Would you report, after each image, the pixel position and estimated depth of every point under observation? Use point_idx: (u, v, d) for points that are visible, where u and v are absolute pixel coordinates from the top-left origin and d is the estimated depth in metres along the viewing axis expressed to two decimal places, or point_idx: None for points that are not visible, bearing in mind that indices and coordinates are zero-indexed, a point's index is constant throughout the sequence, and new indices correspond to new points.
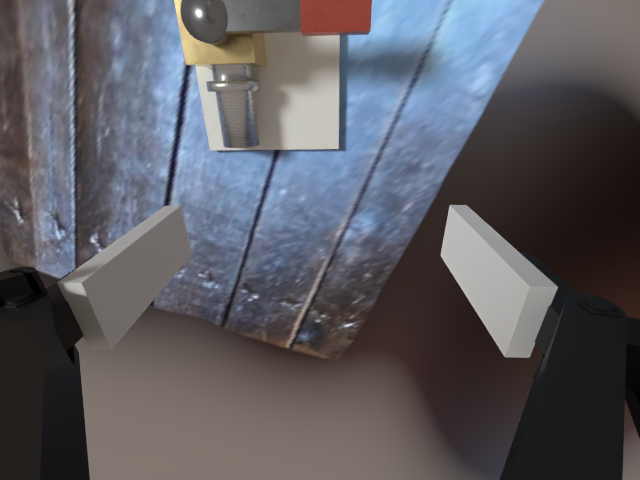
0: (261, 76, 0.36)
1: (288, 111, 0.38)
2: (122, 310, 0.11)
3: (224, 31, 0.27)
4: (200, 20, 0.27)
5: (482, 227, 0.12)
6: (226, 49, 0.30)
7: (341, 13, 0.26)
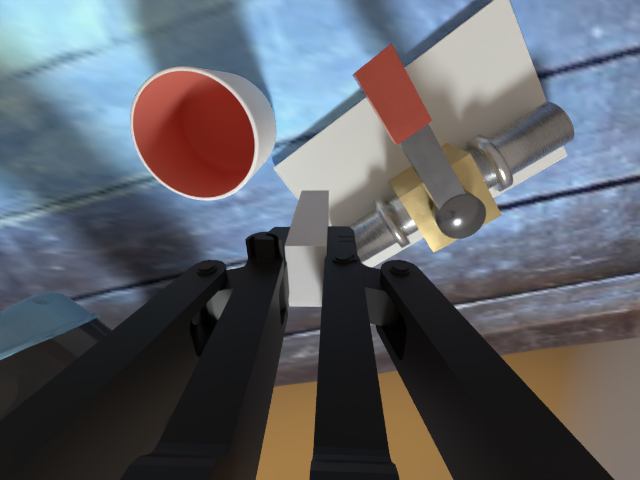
0: (459, 142, 0.32)
1: (483, 92, 0.29)
2: None
3: (466, 194, 0.25)
4: (467, 218, 0.26)
5: (320, 206, 0.14)
6: (470, 186, 0.28)
7: (393, 89, 0.22)
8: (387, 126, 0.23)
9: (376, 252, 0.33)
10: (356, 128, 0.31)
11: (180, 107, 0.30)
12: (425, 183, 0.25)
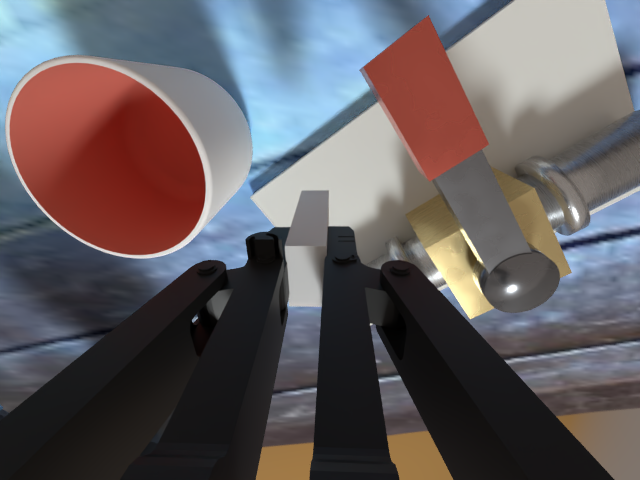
0: (504, 164, 0.23)
1: (544, 96, 0.21)
2: None
3: (531, 253, 0.17)
4: (530, 286, 0.17)
5: (320, 206, 0.14)
6: (530, 233, 0.19)
7: (427, 93, 0.13)
8: (415, 153, 0.14)
9: None
10: (363, 146, 0.23)
11: (116, 116, 0.21)
12: (470, 237, 0.16)
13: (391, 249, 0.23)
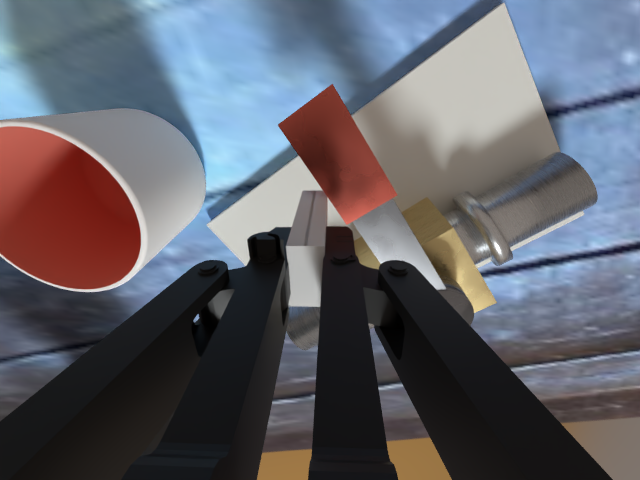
0: (443, 197, 0.24)
1: (474, 136, 0.22)
2: None
3: (447, 289, 0.18)
4: None
5: (319, 206, 0.14)
6: (454, 267, 0.20)
7: (338, 150, 0.14)
8: (331, 199, 0.16)
9: None
10: (309, 179, 0.24)
11: (75, 153, 0.23)
12: None
13: None
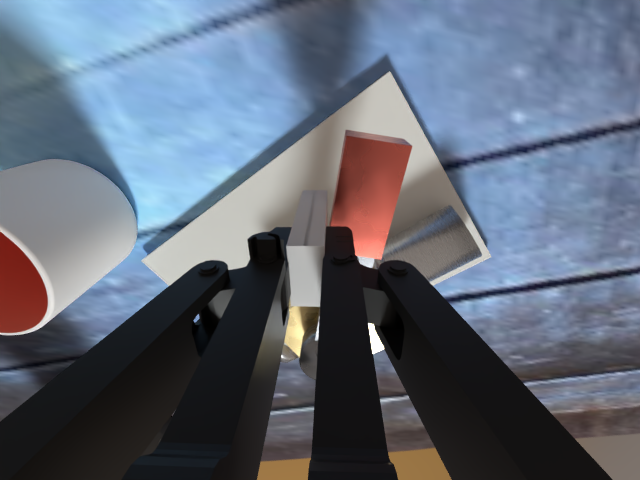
0: None
1: None
2: None
3: None
4: None
5: (319, 206, 0.14)
6: None
7: (371, 194, 0.15)
8: (332, 224, 0.16)
9: None
10: (230, 222, 0.26)
11: None
12: None
13: None
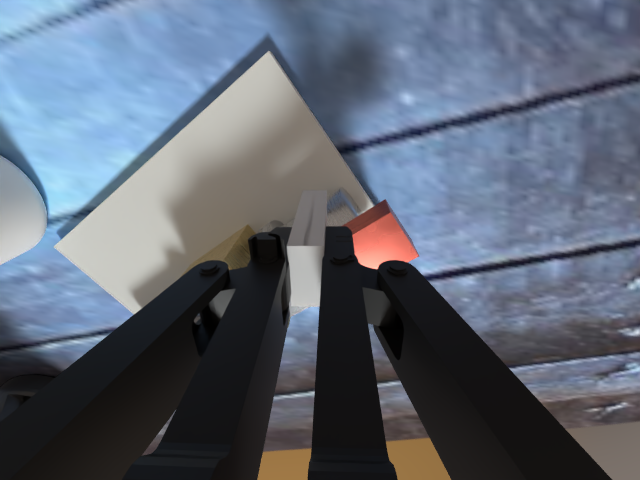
0: (262, 224, 0.26)
1: (275, 169, 0.23)
2: None
3: None
4: None
5: (318, 206, 0.14)
6: None
7: (365, 260, 0.16)
8: None
9: None
10: (135, 206, 0.26)
11: None
12: None
13: None
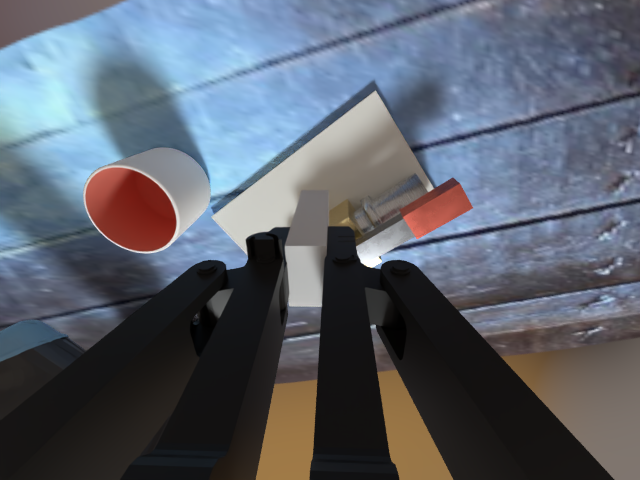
0: (357, 198, 0.39)
1: (370, 162, 0.37)
2: None
3: None
4: None
5: (320, 206, 0.14)
6: None
7: (443, 211, 0.30)
8: (417, 209, 0.30)
9: None
10: (274, 188, 0.39)
11: (132, 173, 0.38)
12: (369, 239, 0.32)
13: None
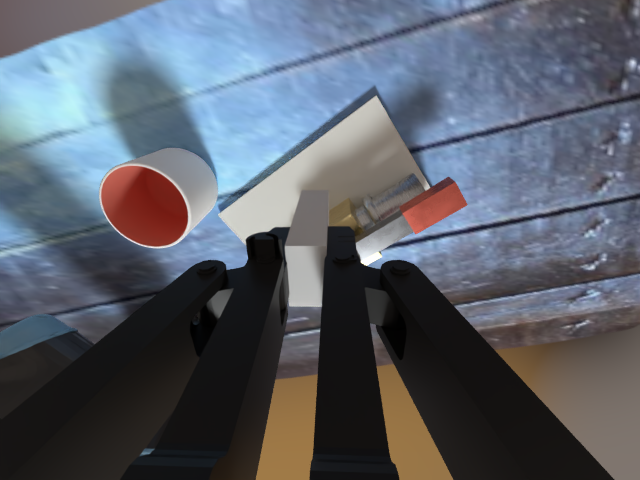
0: (358, 197, 0.41)
1: (371, 162, 0.39)
2: None
3: None
4: None
5: (320, 206, 0.14)
6: (355, 236, 0.37)
7: (440, 208, 0.32)
8: (416, 206, 0.32)
9: None
10: (279, 187, 0.41)
11: (143, 172, 0.40)
12: (371, 234, 0.34)
13: None
